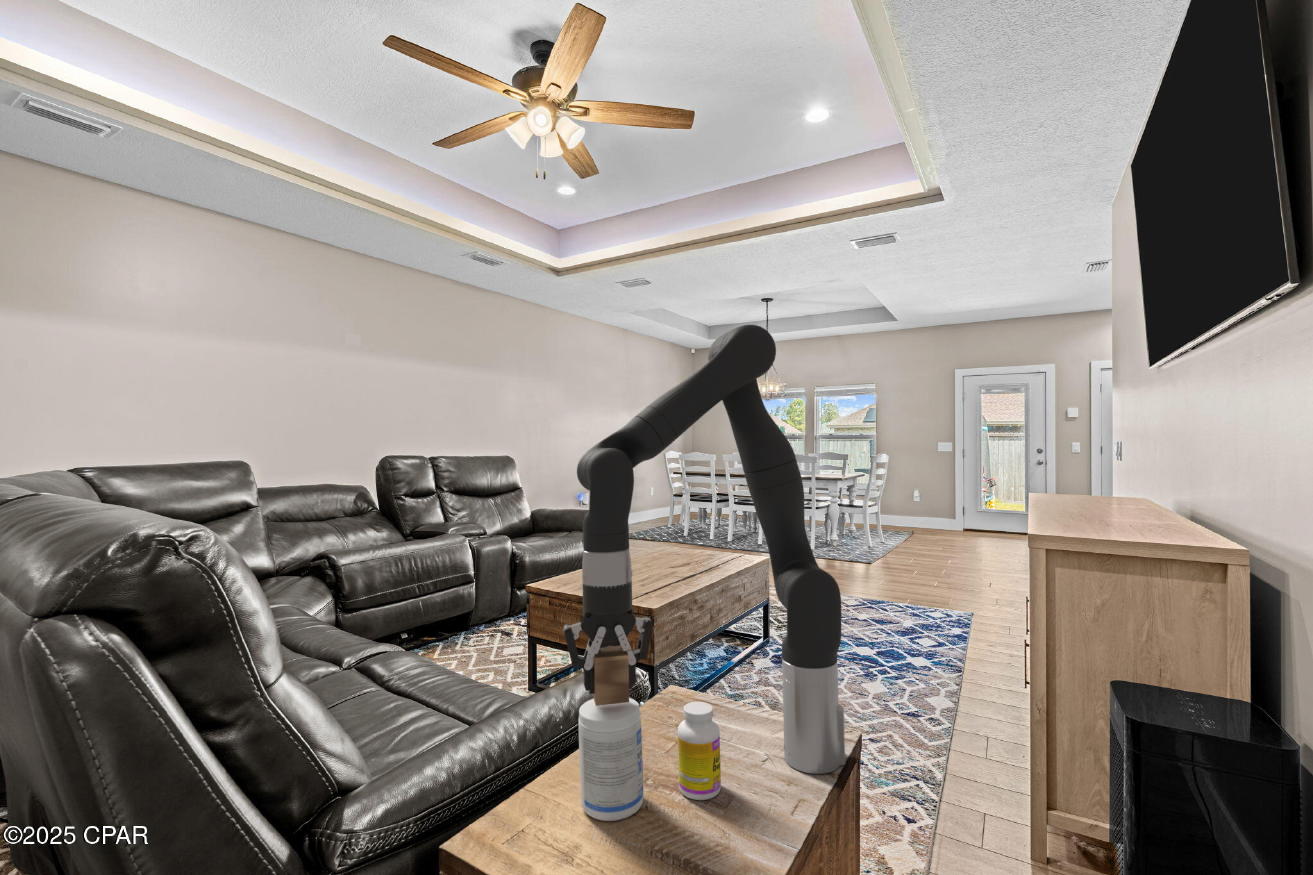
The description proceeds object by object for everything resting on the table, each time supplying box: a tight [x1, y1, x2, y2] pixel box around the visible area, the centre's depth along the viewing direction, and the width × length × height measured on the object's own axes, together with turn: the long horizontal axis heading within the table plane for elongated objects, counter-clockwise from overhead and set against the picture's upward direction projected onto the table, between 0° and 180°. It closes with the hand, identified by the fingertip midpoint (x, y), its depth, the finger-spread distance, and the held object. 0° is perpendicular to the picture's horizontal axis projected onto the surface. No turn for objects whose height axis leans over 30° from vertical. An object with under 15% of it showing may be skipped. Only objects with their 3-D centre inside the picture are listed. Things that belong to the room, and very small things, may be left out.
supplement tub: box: [578, 697, 645, 822], centre depth 90 cm, size 10×10×15 cm
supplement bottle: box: [677, 701, 722, 801], centre depth 94 cm, size 7×7×13 cm
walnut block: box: [591, 646, 630, 706], centre depth 91 cm, size 5×5×7 cm
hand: (609, 689), depth 91 cm, fingers open, 5 cm apart
